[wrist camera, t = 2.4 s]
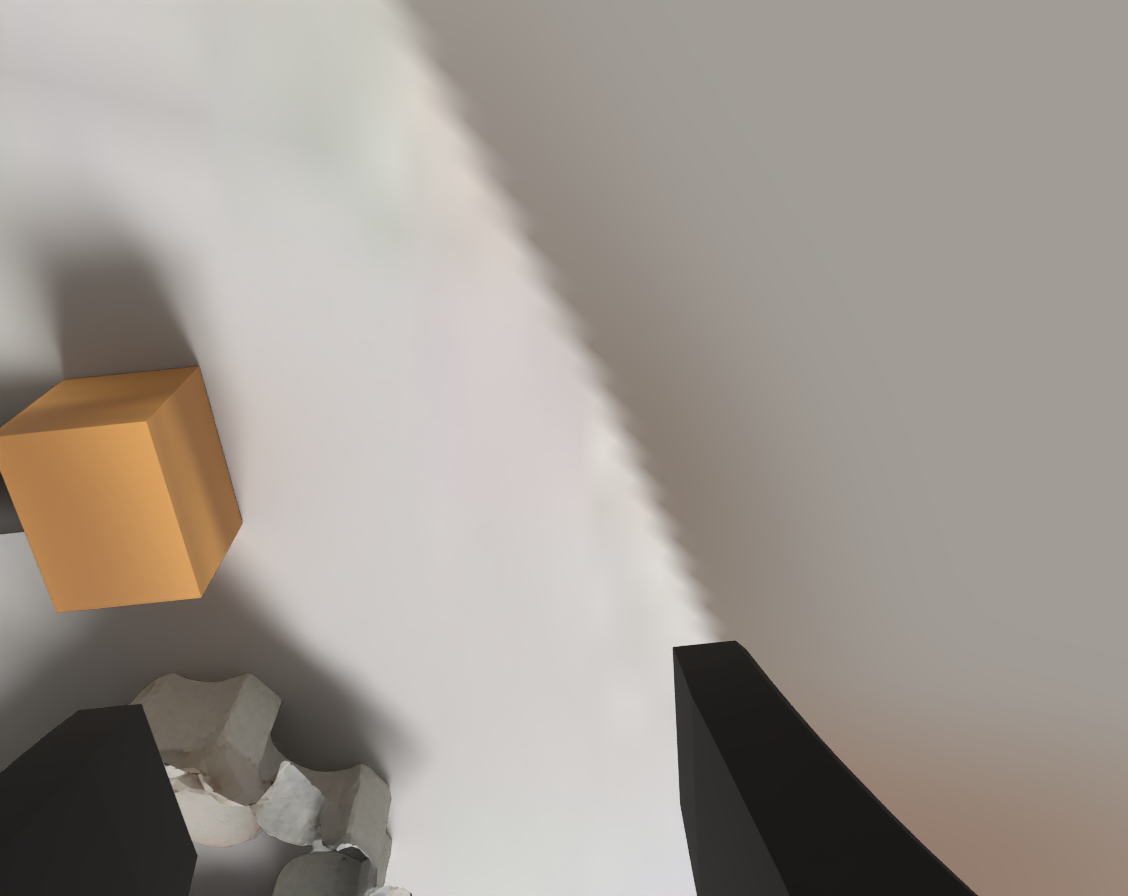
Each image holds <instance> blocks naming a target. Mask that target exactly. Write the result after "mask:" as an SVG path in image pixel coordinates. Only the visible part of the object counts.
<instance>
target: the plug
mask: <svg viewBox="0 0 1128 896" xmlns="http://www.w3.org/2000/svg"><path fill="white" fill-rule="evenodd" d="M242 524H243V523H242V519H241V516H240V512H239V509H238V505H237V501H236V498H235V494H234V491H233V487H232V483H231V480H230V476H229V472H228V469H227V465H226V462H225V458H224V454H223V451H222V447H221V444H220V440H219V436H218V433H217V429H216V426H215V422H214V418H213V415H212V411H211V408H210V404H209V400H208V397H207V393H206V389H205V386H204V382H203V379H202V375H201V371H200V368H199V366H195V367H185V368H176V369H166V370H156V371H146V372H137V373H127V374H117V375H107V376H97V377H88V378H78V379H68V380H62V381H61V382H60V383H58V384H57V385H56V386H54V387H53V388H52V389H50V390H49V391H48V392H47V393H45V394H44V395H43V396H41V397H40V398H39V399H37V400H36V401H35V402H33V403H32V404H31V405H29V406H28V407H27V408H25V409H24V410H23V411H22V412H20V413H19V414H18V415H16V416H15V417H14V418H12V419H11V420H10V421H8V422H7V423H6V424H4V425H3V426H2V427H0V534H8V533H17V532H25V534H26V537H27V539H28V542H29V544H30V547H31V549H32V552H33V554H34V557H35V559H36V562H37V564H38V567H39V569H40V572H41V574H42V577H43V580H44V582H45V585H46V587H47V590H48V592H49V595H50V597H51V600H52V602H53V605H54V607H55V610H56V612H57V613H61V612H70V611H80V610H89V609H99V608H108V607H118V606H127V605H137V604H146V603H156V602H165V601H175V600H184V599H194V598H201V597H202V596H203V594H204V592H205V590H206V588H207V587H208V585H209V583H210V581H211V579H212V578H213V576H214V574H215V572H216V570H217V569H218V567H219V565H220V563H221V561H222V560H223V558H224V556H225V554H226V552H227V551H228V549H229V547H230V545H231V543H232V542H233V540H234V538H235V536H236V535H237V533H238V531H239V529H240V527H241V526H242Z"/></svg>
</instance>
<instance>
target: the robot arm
mask: <svg viewBox="0 0 1128 896" xmlns="http://www.w3.org/2000/svg"><path fill="white" fill-rule="evenodd" d="M673 662H674V684H675V705H676V726H677V747H678V768H679V789H680V805H681V811H682V816H683V822H684V827H685V833H686V838H687V844H688V849H689V855H690V860H691V866H692V871H693V876H694V882H695V887H696V892H697V896H978V895H976V894H975V893H974V892H973V891H972V890H971V889H970V888H969V887H968V886H967V885H966V884H965V883H964V882H963V881H961V880H960V879H959V878H958V877H957V876H956V875H955V874H954V873H953V872H952V871H951V870H949V868H948V867H947V866H946V865H944V864H943V863H942V862H941V861H940V860H939V859H938V858H937V857H936V856H935V855H934V854H933V853H932V852H931V851H930V850H928V849H927V848H926V847H925V846H924V845H923V844H922V843H921V842H920V841H919V840H918V839H917V838H916V837H915V836H914V835H913V834H912V833H911V832H910V831H909V830H908V829H907V828H906V827H905V826H904V825H903V824H902V823H901V822H900V821H899V820H898V819H897V818H896V817H895V816H894V815H893V814H892V813H891V812H890V811H889V810H888V809H887V808H886V807H885V806H884V805H883V804H882V803H881V802H880V801H879V800H878V799H877V798H876V797H875V796H874V795H873V793H872V792H871V791H870V790H868V788H867V787H866V786H865V785H864V784H863V783H862V782H861V781H860V780H859V779H858V778H857V777H856V776H855V775H854V774H853V773H852V772H851V771H850V770H849V769H848V768H847V766H846V765H845V764H844V763H843V762H842V761H841V760H840V759H839V758H838V757H837V756H836V755H835V754H834V753H833V751H832V750H831V749H830V748H829V747H828V746H827V745H826V744H825V743H824V742H823V741H822V740H821V738H820V737H819V736H818V735H817V734H816V733H815V732H814V730H813V729H812V728H811V727H810V726H809V725H808V723H806V721H805V720H804V719H803V718H802V717H801V716H800V714H799V713H798V712H797V711H796V710H795V709H794V708H793V706H792V705H791V704H790V703H789V702H788V700H787V699H786V698H785V697H784V696H783V694H782V693H781V692H780V691H779V690H778V688H777V687H776V686H775V685H774V684H773V682H772V681H771V680H770V679H769V678H768V676H767V675H766V674H765V673H764V671H763V670H762V669H761V668H760V666H759V665H758V664H757V662H756V661H755V660H754V659H753V657H752V656H751V655H750V654H749V652H748V651H747V650H746V649H745V648H744V647H743V646H741V645H740V644H739V643H738V642H737V641H726V642H717V643H708V644H698V645H689V646H679V647H673ZM196 860H197V853H196V851H195V848H194V845H193V842H192V840H191V837H190V834H189V832H188V829H187V826H186V823H185V821H184V818H183V815H182V812H181V810H180V807H179V804H178V802H177V799H176V796H175V793H174V791H173V788H172V785H171V782H170V780H169V777H168V774H167V772H166V769H165V766H164V763H163V761H162V758H161V755H160V753H159V750H158V747H157V744H156V742H155V739H154V736H153V733H152V731H151V728H150V725H149V723H148V720H147V717H146V714H145V712H144V709H143V706H142V704H134V705H125V706H116V707H106V708H97V709H87V710H79V711H77V712H76V713H75V714H73V715H72V716H71V717H69V718H68V719H67V720H65V721H64V722H63V723H61V724H60V725H59V726H57V727H56V728H55V729H53V730H52V731H51V732H50V733H48V734H47V735H46V736H45V737H43V738H42V739H41V740H40V741H38V742H37V743H36V744H35V745H33V746H32V747H31V748H30V749H29V750H27V751H26V752H25V753H24V754H23V755H21V756H20V757H19V758H18V759H17V760H15V761H14V762H13V763H12V764H11V765H9V766H8V767H7V768H6V769H5V770H3V771H2V772H1V773H0V896H188V895H189V890H190V886H191V882H192V877H193V873H194V869H195V864H196Z"/></svg>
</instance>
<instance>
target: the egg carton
mask: <svg viewBox="0 0 1128 896" xmlns="http://www.w3.org/2000/svg"><path fill="white" fill-rule="evenodd" d="M281 702H282V700H281V699H280V698H279V697H278V695H277V694H276V693H274V692H273V691H272V690H271V689H270V688H268V687H267V686H266V685H264V684H263V683H262V682H261V681H260V680H259V679H258V678H256V677H255V676H253V675H252V674H251V673H246V674H243V675H241V676H238V677H234V678H231V679H227V680H224V681H217V682H202V681H196V680H190V679H187V678H185V677H182V676H180V675H178V674H175V673H170V674H166V675H163V676H161V677H158V678H157V679H155V680H154V681H152V682H151V683H150V684H149V685H148V686H146V687H145V688H144V689H143V690H142V691H141V692H140V693H139V694H138V695H137V696H136V698H135V699H134V701H132V702H131V703H130V704H129V705H134V704H142V706H143V709H144V712H145V714H146V717H147V720H148V723H149V725H150V728H151V731H152V733H153V736H154V739H155V742H156V744H157V747H158V750H159V753H160V755H161V758H162V761H163V763H164V766H165V769H166V772H167V774H168V777H169V780H170V782H171V785H172V788H173V791H174V793H175V796H176V799H177V802H178V804H179V807H180V810H181V812H182V815H183V818H184V821H185V823H186V826H187V829H188V832H189V834H190V837H191V840H192V841H193V842H195V843H198V844H201V845H203V846H209V847H231V846H234V845H237V844H240V843H243V842H246V841H248V840H251V839H254V838H255V837H256V836H257V835H258V834H259V833H260V832H261V831H262V829H263V830H264V831H265V832H266V833H267V834H268V835H270V836H274V837H276V838H278V839H279V840H281V841H284V842H287V843H291V844H295V845H299V846H305V845H312V849H311V852H310V853H308V854H305V855H301V856H298V857H296V858H294V859H292V860H291V861H290V862H289V863H288V864H286V865H285V866H284V867H283V869H282V871H281V872H280V874H279V875H278V877H277V880H276V884H275V887H274V891H273V895H272V896H412V894H411V893H410V892H409V891H408V890H407V889H405V888H404V887H393V886H384V883H385V877H386V871H387V867H388V862H389V858H390V854H391V846H392V840H391V839H390V837H389V835H388V834H387V833H386V827H387V819H388V812H389V807H390V803H391V793H390V790H389V787H388V785H387V784H386V783H385V782H384V781H383V780H382V779H381V778H380V777H379V776H377V775H376V774H375V773H374V771H373V770H372V769H371V768H370V767H368V766H366V765H364V764H358V765H356V766H353V767H351V768H348V769H343V770H339V771H330V772H322V771H314V770H311V769H308V768H305V767H302V766H300V765H297V764H296V763H294V762H292V761H290V760H288V759H287V758H286V757H285V756H283V755H282V754H281V753H280V752H279V751H278V749H277V748H276V747H275V745H274V744H273V741H272V739H271V734H270V733H271V730H272V727H273V725H274V722H275V719H276V716H277V713H278V710H279V708H280V705H281ZM350 846H352V847H355V848H359V849H360V850H361V851H362V852H363V853H364V855H365V856H367V857H368V858H369V859H367V860H365V861H363V862H360V861H359V860H357V859H354V858H352V857H350V856H348V855H346V854H341V853H336V852H329V851H334V850H337V851H339V850H341V849H344V848H347V847H350ZM314 851H322V852H314ZM312 852H313V853H312Z"/></svg>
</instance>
